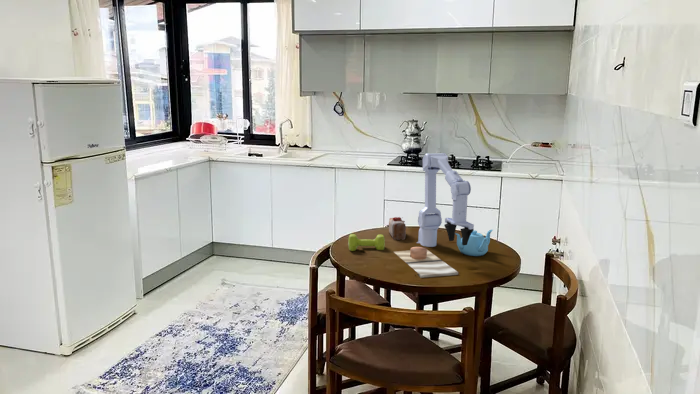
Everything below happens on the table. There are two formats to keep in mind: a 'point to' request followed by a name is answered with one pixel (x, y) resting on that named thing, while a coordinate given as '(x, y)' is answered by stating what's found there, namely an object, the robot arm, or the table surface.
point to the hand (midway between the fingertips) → (458, 242)
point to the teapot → (474, 244)
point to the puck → (418, 253)
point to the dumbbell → (366, 242)
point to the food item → (397, 228)
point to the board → (427, 265)
